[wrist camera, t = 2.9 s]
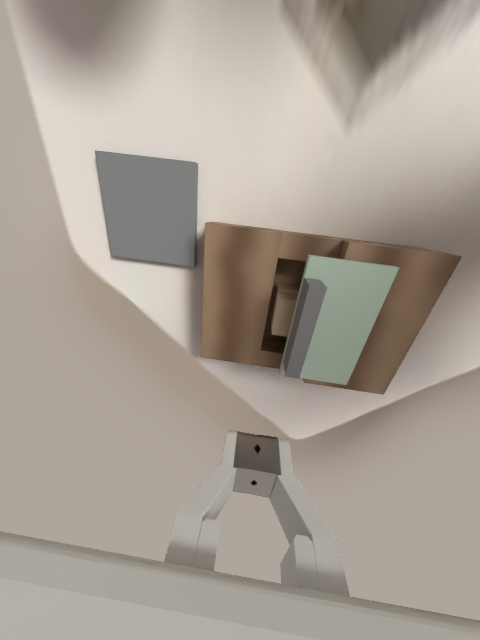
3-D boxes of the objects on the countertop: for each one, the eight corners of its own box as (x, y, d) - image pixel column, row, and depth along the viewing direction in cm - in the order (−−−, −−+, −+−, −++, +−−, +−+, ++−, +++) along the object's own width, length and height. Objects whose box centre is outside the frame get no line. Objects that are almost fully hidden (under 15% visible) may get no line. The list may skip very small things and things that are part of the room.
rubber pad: (197, 163, 23) (195, 162, 22) (196, 265, 28) (194, 267, 27) (99, 152, 23) (94, 150, 23) (115, 254, 28) (111, 255, 27)
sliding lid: (394, 265, 20) (417, 274, 17) (344, 380, 26) (354, 401, 23) (308, 254, 20) (315, 261, 17) (279, 370, 26) (281, 390, 23)
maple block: (311, 288, 27) (322, 304, 22) (302, 319, 29) (310, 340, 24) (276, 283, 27) (279, 298, 22) (270, 314, 29) (271, 334, 24)
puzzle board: (418, 247, 24) (461, 256, 19) (363, 364, 32) (383, 394, 27) (213, 221, 25) (199, 223, 20) (207, 341, 33) (196, 365, 27)
